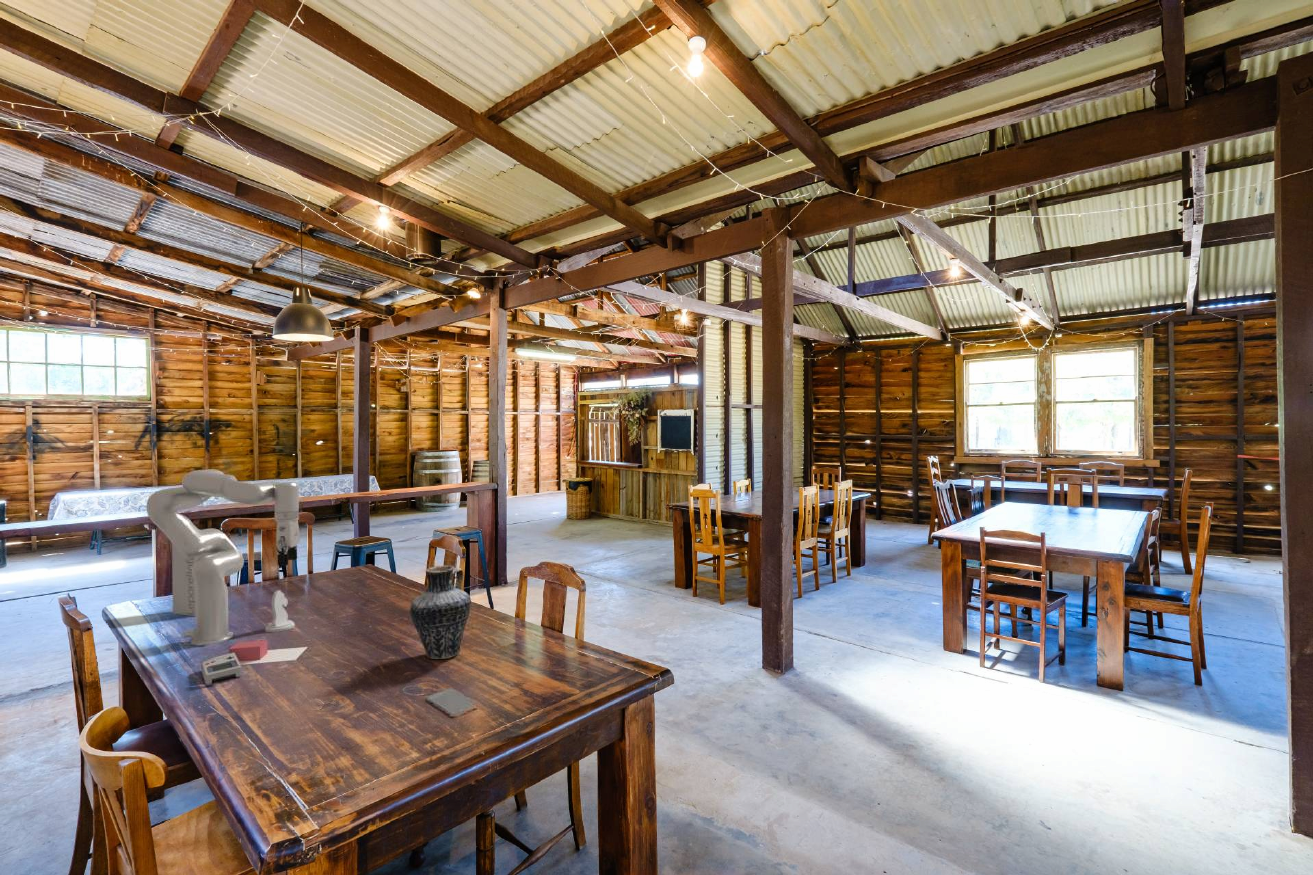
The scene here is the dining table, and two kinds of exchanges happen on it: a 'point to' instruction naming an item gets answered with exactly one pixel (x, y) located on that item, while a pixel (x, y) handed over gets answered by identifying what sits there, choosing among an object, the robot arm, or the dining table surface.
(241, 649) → the card box
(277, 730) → the dining table surface
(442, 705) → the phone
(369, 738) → the dining table surface
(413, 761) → the dining table surface
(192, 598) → the brochure
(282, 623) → the chess piece
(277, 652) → the mat
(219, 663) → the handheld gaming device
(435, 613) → the jug
